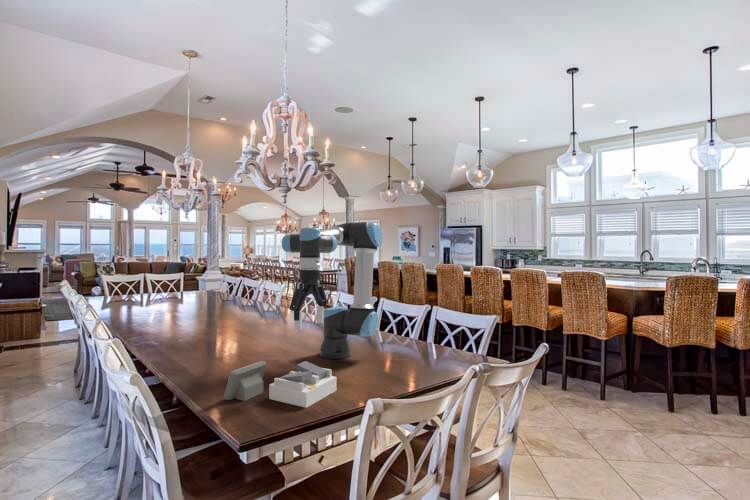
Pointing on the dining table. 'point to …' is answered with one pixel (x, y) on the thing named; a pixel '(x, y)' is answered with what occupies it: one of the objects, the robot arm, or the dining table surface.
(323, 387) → the switch unit
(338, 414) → the dining table surface
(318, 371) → the rocker
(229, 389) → the digital clock
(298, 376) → the rocker
